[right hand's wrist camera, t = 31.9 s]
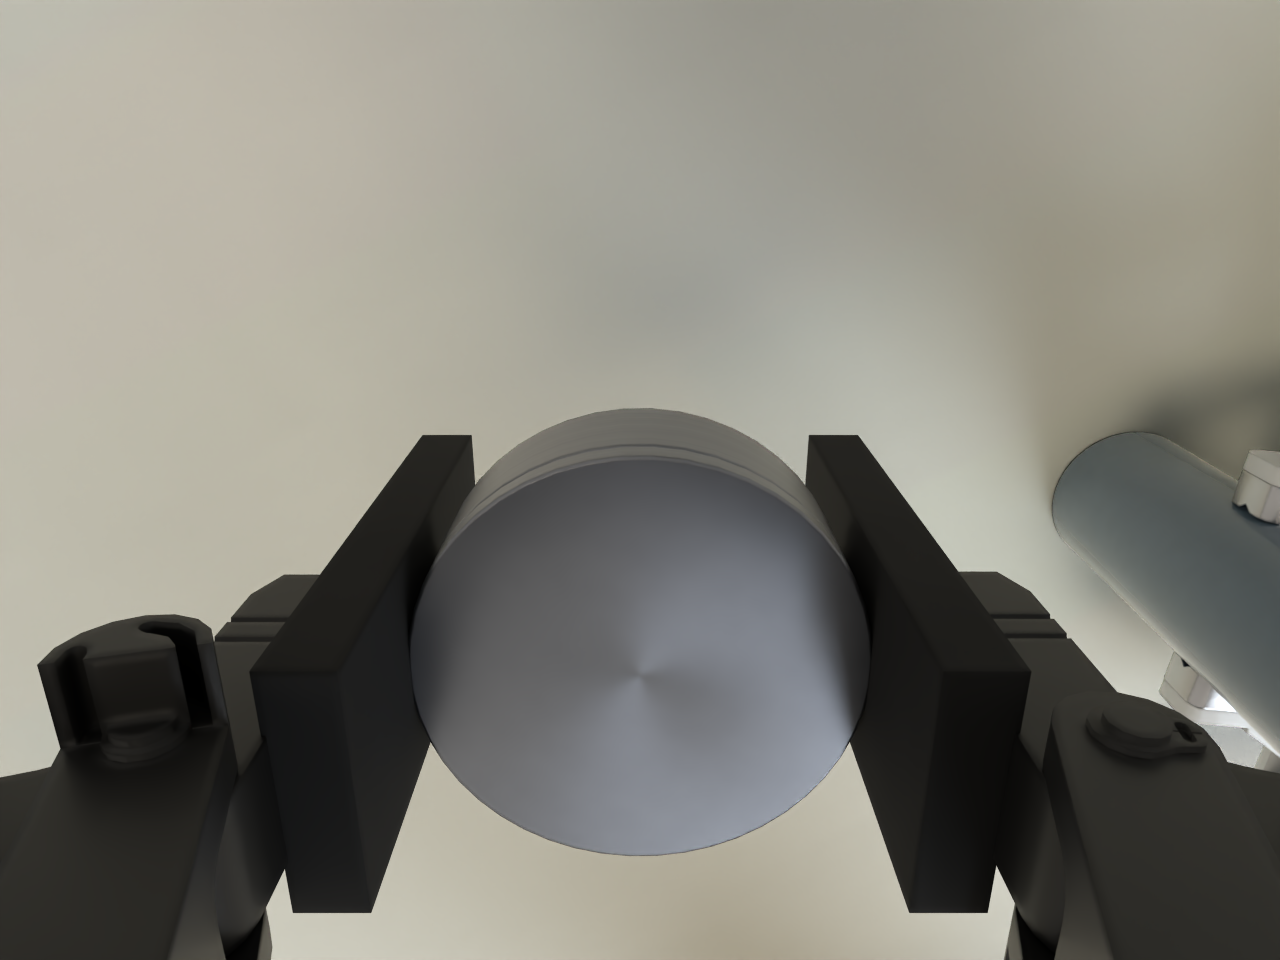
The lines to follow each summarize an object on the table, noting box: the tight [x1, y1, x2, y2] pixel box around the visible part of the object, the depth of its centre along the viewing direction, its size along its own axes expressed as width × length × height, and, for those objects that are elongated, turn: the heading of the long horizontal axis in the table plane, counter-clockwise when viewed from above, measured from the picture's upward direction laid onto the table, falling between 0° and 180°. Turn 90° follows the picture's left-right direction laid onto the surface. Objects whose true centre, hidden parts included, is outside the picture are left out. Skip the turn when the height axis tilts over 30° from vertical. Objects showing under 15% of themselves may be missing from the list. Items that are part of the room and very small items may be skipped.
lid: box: [408, 408, 872, 856], centre depth 11 cm, size 5×5×2 cm
